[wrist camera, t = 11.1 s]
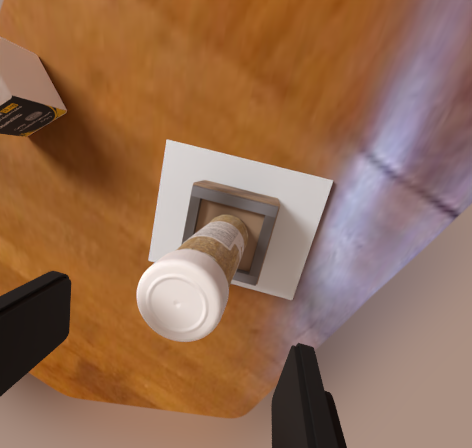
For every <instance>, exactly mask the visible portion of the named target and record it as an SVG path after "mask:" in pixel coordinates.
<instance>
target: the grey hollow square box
mask: <svg viewBox="0 0 472 448" xmlns="http://www.w3.org/2000/svg"><path fill="white" fill-rule="evenodd" d="M279 209H280V202H279V200H278V198H275V197H271V196H267V195H263V194H259V193H255V192H251V191H247V190H243V189H239V188H235V187H232V186H228V185H224V184H220V183H216V182H212V181H208V180H202V181H198V182H194V183H193V186H192V191H191V196H190V202H189V207H188V212H187V218H186V223H185V228H184V234H183V239H182V244H183V243H184V242H185V241H186V240H188V239H189V238H190V237H191V236H193V235H194V234H195V233H197V232H198V231H199V230H200V229H202V228H203V227H204V226H206V225H207V224H209V223H210V221H211V220H212V219H214V218H215V217H218V216H220V215H232V216H234V217H237V218H239V219H240V220H241V221H242V222H243V223H244V225H245V227H246V228H247V231H248V242H247V245H246V247H245V249H244V252H243V255H242V257H241V260H240V262H239V265H238V268H237V270H236V273H235V275H234V277H233V279H232V280H236V281H239V282H243V283H247V284H250V285H254V286H256V284H258V280H259V277H260V274H261V270H262V267H263V263H264V260H265V256H266V253H267V250H268V246H269V243H270V239H271V236H272V233H273V229H274V226H275V222H276V219H277V216H278V212H279ZM182 244H181V245H182Z"/></svg>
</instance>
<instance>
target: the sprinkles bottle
mask: <svg viewBox="0 0 472 448" xmlns="http://www.w3.org/2000/svg"><path fill="white" fill-rule="evenodd" d="M247 242H248V231H247V228H246V227H245V225H244V223H243V222H242V221H241V220H240V219H239V218H237V217H234V216H232V215H220V216H218V217H215V218H214V219H212V220H211V221H210V223H209V224H207V225H206V226H204V227H203V228H202V229H200V230H199V231H198V232H197V233H195V234H194V235H193V236H191V237H190V238H189V239H188V240H186V241H185V242H184V243H183V244H182V245H181V246H180V247H179V248H178V249H177V250H175V251H172V252H170V253H168V254H166V255H164V256H163V257H162V258H160V259H159V260H158V261H156V262H155V263H154V264H153V265H152V266H150V267H149V268H148V269H147V270H146V271H145V272H144V274H143V275H142V277H141V279H140V281H139V284H138V288H137V304H138V308H139V310H140V313H141V315H142V317H143V318H144V320H145V321H146V323H147V324H148V325H149V326H150V327H151V328H152V329H153V330H154V331H155V332H157V333H158V334H160V335H162V336H163V337H165V338H168V339H171V340H174V341H180V342H190V341H195V340H198V339H201V338H203V337H205V336H206V335H208V334H209V333H211V332H212V331H213V330H214V329H215V328H216V326H217V325H218V323H219V321H220V319H221V317H222V314H223V312H224V309H225V306H226V303H227V300H228V294H229V286H230V284H231V281H232V279H233V277H234V275H235V273H236V270H237V268H238V265H239V262H240V260H241V257H242V255H243V252H244V249H245V247H246V245H247Z"/></svg>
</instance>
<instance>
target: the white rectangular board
mask: <svg viewBox="0 0 472 448" xmlns="http://www.w3.org/2000/svg"><path fill="white" fill-rule="evenodd" d="M202 180H208V181H212V182H216V183H220V184H224V185H228V186H232V187H235V188H239V189H243V190H247V191H251V192H255V193H259V194H263V195H267V196H271V197H275V198H278V200H279V202H280V209H279V212H278V216H277V219H276V222H275V226H274V229H273V233H272V236H271V239H270V243H269V246H268V250H267V253H266V256H265V260H264V263H263V267H262V270H261V274H260V277H259V280H258V284H256V286H254V285H250V284H247V283H243V282H239V281H236V280H232V281H231V284H235V285H238V286H242V287H245V288H249V289H253V290H256V291H260V292H263V293H267V294H271V295H274V296H278V297H281V298H285V299H289V300H293V297H294V294H295V291H296V288H297V285H298V282H299V279H300V276H301V273H302V271H303V268H304V265H305V262H306V259H307V256H308V253H309V250H310V247H311V244H312V241H313V239H314V236H315V233H316V230H317V227H318V224H319V221H320V218H321V215H322V212H323V210H324V207H325V204H326V201H327V198H328V195H329V192H330V189H331V186H332V183H333V180H329V179H325V178H321V177H317V176H313V175H309V174H305V173H301V172H297V171H293V170H289V169H285V168H281V167H276V166H272V165H268V164H264V163H260V162H256V161H252V160H248V159H244V158H240V157H236V156H232V155H228V154H224V153H220V152H216V151H212V150H208V149H204V148H199V147H195V146H191V145H187V144H183V143H179V142H175V141H171V140H167V141H166V148H165V154H164V161H163V168H162V174H161V181H160V187H159V194H158V201H157V207H156V214H155V220H154V227H153V234H152V240H151V247H150V253H149V260H148V261H152V262H156V261H158V260H159V259H160V258H162V257H163V256H164V255H166V254H168V253H170V252H172V251H175V250H177V249H178V248H179V247H180V246H181V244H182V239H183V234H184V228H185V223H186V218H187V212H188V207H189V202H190V196H191V191H192V186H193V183H194V182H198V181H202Z"/></svg>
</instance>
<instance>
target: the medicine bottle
mask: <svg viewBox="0 0 472 448" xmlns="http://www.w3.org/2000/svg"><path fill="white" fill-rule="evenodd" d="M66 112H67V109H66V107H65V106H64V104H63V102H62V100H61V98H60V96H59V94H58V93H57V91H56V89H55V87H54V85H53V83H52V81H51V80H50V78H49V76H48V74H47V72H46V70H45V68H44V67H43V65H42V63H41V61H40V59H39V57H38V56H37V55H36V54H35V53H33V52H31V51H29V50H27V49H24V48H22V47H20V46H18V45H16V44H14V43H12V42H10V41H8V40H6V39H4V38H2V37H0V134H8V135H16V136H24V137H27V136H29V135H31V134H33V133H34V132H36V131H38V130H39V129H41V128H42V127H44V126H46V125H47V124H49V123H51V122H52V121H54V120H56V119H57V118H59V117H60V116H62V115H64V114H65V113H66Z"/></svg>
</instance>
